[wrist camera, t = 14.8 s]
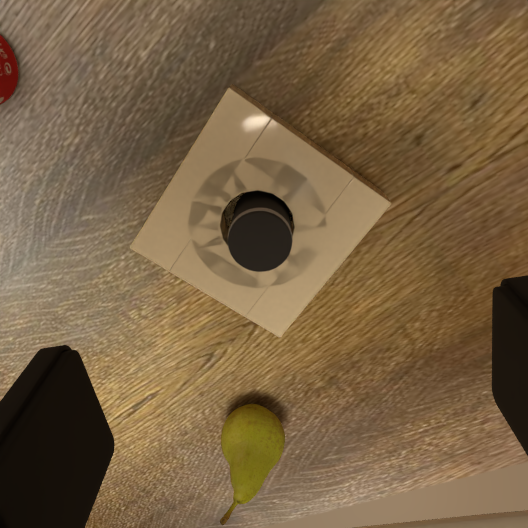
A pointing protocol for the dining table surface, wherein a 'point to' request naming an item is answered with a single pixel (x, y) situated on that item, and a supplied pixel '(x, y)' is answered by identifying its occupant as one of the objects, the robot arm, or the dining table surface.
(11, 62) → the beverage can
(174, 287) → the dining table surface
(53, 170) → the dining table surface
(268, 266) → the stopper
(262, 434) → the fruit
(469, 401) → the dining table surface
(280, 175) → the sink floor
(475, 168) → the dining table surface
